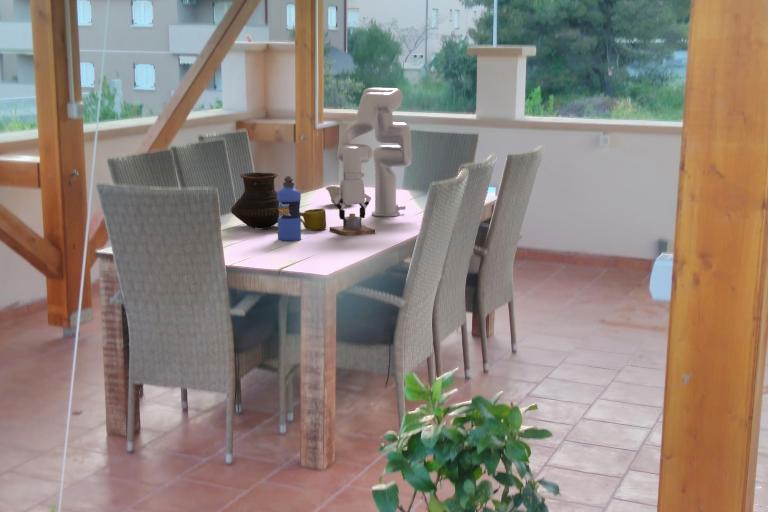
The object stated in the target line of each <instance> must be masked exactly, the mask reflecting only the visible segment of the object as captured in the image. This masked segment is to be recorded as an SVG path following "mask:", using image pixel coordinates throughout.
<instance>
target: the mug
mask: <svg viewBox="0 0 768 512" xmlns="http://www.w3.org/2000/svg"><path fill="white" fill-rule="evenodd" d="M326 214H327V213H326V209H325V208H313V209H306V210H305V211H304V212H302V211H300V217H302V218H303V219H302V218H301V223H302V224H303V226H304V228H305V230H308V231H313V232H314V231H315V232H318V231H322V230H326V228H327V216H326Z"/></svg>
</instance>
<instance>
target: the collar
mask: <svg viewBox="0 0 768 512" xmlns="http://www.w3.org/2000/svg"><path fill="white" fill-rule="evenodd" d="M362 219H363V218H361V217H360V216H355V219H349V216H345V219H344V220H342V226H343V229H346V230H357V229H361V228H362V226H363V225H362V221H363V220H362Z"/></svg>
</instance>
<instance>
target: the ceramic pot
mask: <svg viewBox="0 0 768 512" xmlns="http://www.w3.org/2000/svg"><path fill="white" fill-rule="evenodd" d="M239 177H241V178H242V181H243V187H244V191H243V193H242V195H241V196H240V198H238V199H237V201H236V202H235V203H234V204H233V205H232V207H230V213H232V215H233V216H235V218H237V219H238V220H240V221H241V222H242V223H244V224H245V225H246V226H248V227H250V228H251V229H255V228H264V229H271V228H273V227H274V226H275V225H277V224H278V212H279V209H278V201H277V191H276V190H275V178H277V177H278V174H277V173H274V172H255V171H254V172H244V173H241V174H240V175H239Z"/></svg>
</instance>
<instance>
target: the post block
mask: <svg viewBox="0 0 768 512" xmlns="http://www.w3.org/2000/svg"><path fill="white" fill-rule="evenodd" d="M348 217H349V219H355V217H356V213H349V215H348ZM329 232H332V233H335V234H339V235H341V236H344V237H347V236H348V237H349V236H358V235H359V236H360V235H371V234H372V235H373V234H376V229H374V228H371V227H368V226H366V225H362V228H361V229H357V230H346V229H343V225H340V226H339V225H337V226H329Z"/></svg>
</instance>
